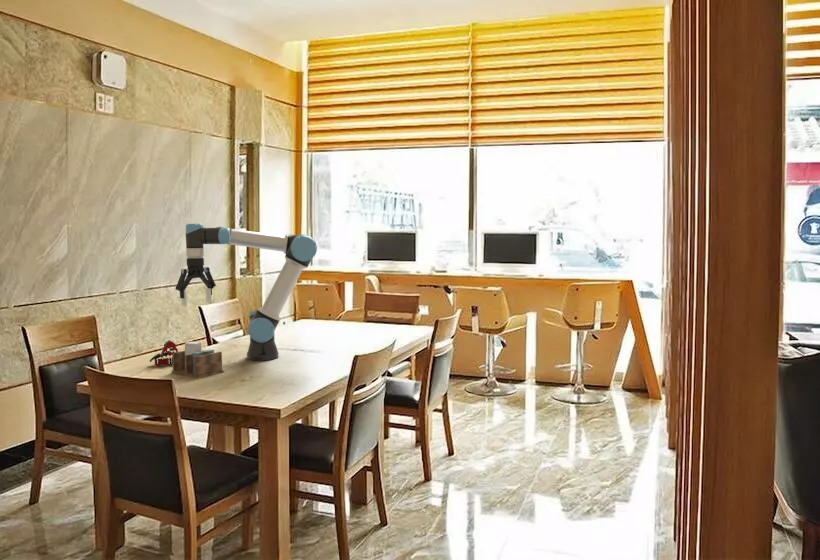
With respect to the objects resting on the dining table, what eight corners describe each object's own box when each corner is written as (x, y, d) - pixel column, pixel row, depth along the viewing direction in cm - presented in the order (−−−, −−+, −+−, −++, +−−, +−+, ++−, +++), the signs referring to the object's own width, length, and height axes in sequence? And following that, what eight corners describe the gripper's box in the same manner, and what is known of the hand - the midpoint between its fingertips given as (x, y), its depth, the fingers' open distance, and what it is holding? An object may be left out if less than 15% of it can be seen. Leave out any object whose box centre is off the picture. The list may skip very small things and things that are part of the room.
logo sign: (150, 367, 325) (149, 343, 324) (149, 365, 328) (148, 341, 327) (191, 363, 333) (190, 339, 332) (189, 361, 336) (188, 338, 335)
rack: (197, 367, 324) (197, 345, 323) (223, 372, 313) (223, 349, 312) (171, 372, 312) (170, 350, 311) (197, 378, 302) (196, 355, 301)
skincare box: (184, 369, 314) (183, 342, 312) (191, 367, 318) (190, 341, 317) (195, 371, 311) (194, 343, 310) (202, 369, 315) (201, 342, 314)
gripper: (212, 255, 334) (213, 300, 336) (166, 258, 314) (168, 306, 316) (222, 256, 330) (223, 301, 332) (176, 259, 309) (178, 307, 311)
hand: (196, 304), depth 324 cm, fingers open, 13 cm apart
